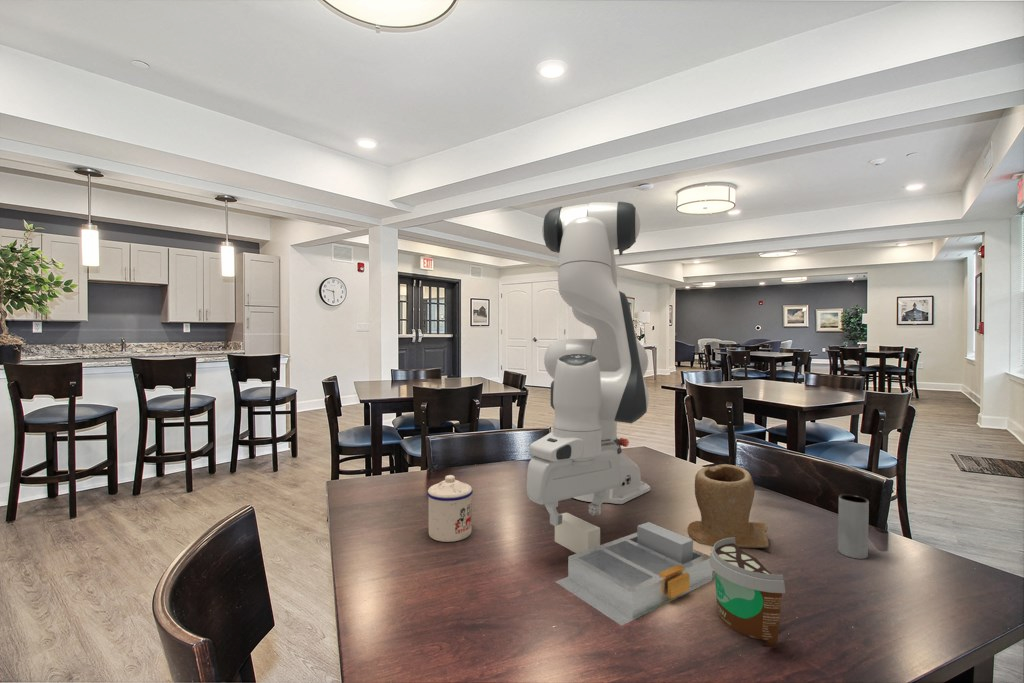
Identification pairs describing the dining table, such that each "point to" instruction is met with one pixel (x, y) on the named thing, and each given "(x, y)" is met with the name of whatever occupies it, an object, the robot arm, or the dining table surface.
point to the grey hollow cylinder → (853, 526)
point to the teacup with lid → (449, 510)
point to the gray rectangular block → (665, 542)
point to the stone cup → (726, 508)
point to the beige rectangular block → (576, 534)
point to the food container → (746, 592)
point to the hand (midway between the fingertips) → (575, 519)
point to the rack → (632, 578)
